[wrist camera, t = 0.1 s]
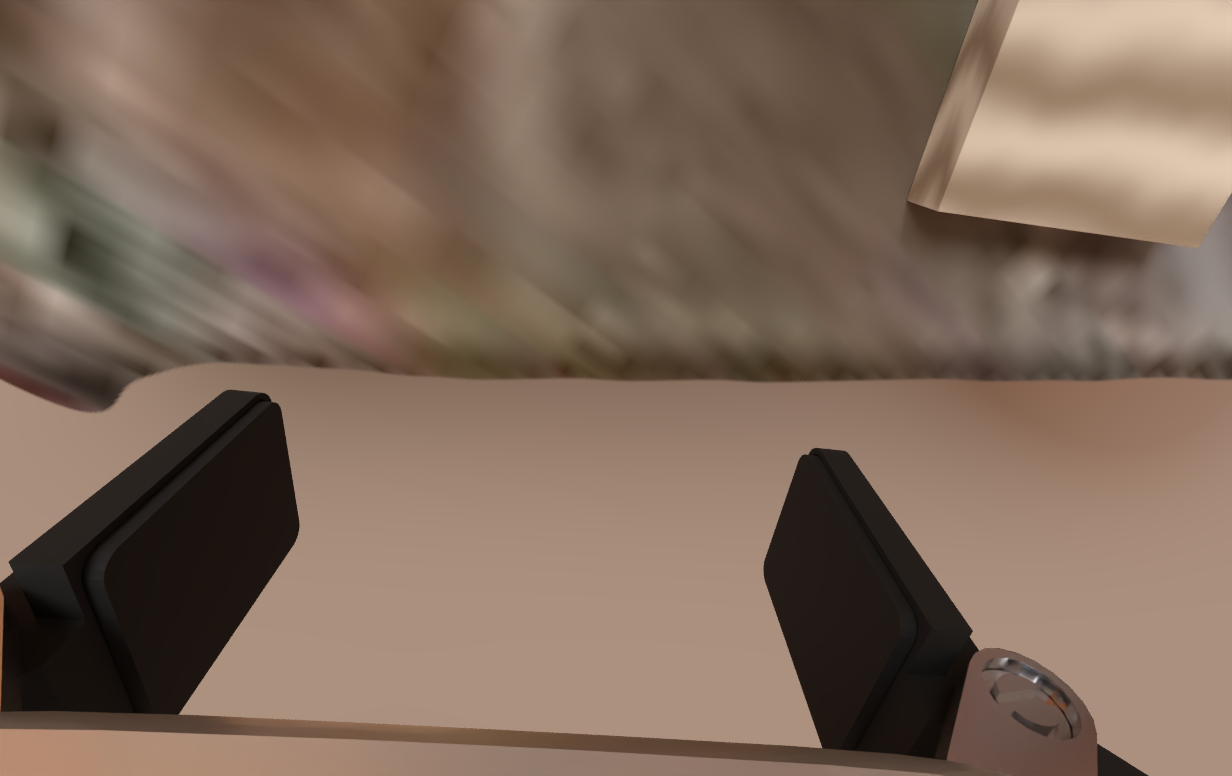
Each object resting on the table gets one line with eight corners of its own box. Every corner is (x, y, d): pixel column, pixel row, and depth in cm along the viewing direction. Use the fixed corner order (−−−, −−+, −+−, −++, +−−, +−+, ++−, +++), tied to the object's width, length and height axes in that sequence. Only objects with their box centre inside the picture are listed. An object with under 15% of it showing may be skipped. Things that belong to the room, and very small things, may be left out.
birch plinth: (1012, -96, 31) (1065, -121, 28) (1298, -41, 33) (1383, -57, 29) (906, 200, 39) (937, 211, 35) (1144, 234, 40) (1197, 248, 37)
